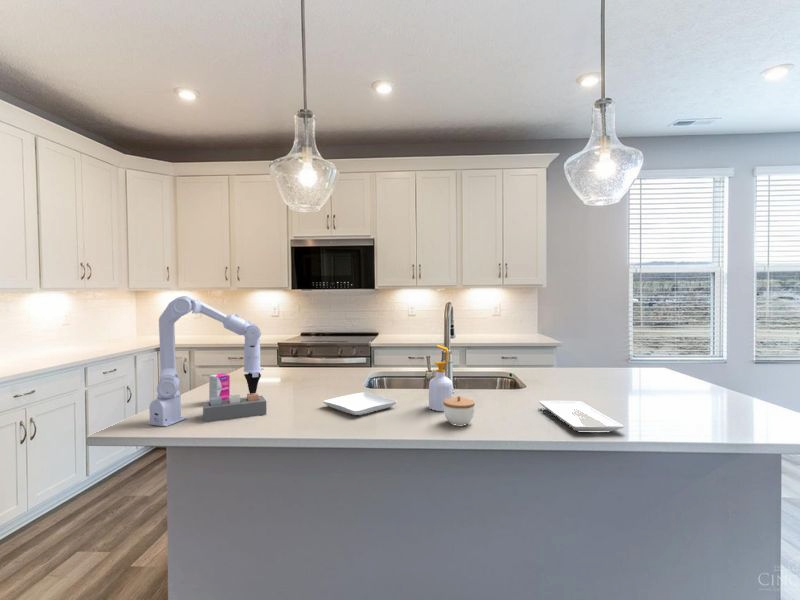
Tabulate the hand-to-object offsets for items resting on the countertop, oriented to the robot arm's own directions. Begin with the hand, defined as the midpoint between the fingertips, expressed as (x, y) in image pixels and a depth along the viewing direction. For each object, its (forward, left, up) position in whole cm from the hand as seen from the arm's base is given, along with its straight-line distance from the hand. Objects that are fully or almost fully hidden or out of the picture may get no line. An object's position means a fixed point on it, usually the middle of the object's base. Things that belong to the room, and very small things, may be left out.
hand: (252, 393), depth 162 cm
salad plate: (+18, -35, -8) cm, 41 cm away
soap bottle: (+27, -65, -8) cm, 71 cm away
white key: (-4, +5, -5) cm, 8 cm away
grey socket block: (-5, +5, -8) cm, 10 cm away
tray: (+28, -115, -8) cm, 118 cm away
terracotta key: (0, 0, -4) cm, 4 cm away
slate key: (-9, +9, -4) cm, 13 cm away
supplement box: (+7, +22, -8) cm, 24 cm away
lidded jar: (+11, -75, -8) cm, 77 cm away
